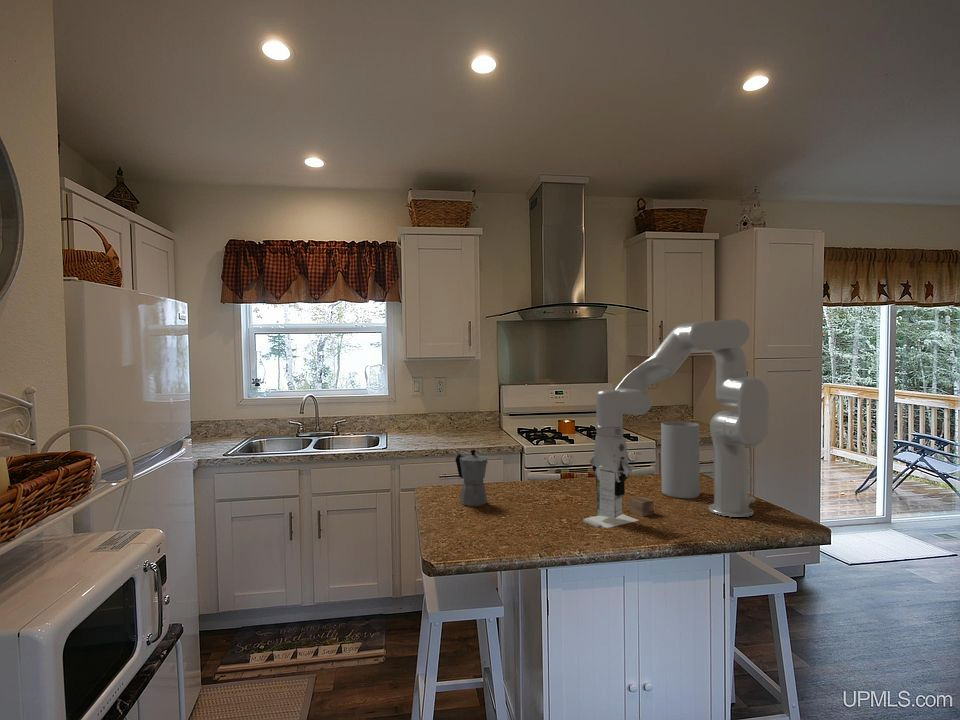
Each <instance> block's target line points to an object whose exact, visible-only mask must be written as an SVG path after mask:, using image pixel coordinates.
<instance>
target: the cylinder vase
mask: <svg viewBox="0 0 960 720" xmlns="http://www.w3.org/2000/svg"><path fill="white" fill-rule="evenodd" d="M660 427H661V428H660V433H661V434H660V436H661V437H660V442H661V445H660V446H661V449H660V450H661V451H660V452H661V454H660V455H661V457H660V458H661V459H660V460H661V462H660V463H661V493H662V494H663V495H665V496H667V497H670V498H675V499H681V498H682V499H683V500H684V499H685V500H688V499H690V498H691V499H696V498H699V496H700V494H701V492H700V491H701V487H700V486H701V485H700V482H701V481H700V480H701V479H700V477H701V476H700V468H701V467H700V424H699V423H696V422H687V421H664V422H661V423H660ZM691 499H690V500H691Z"/></svg>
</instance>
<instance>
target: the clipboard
mask: <svg viewBox="0 0 960 720" xmlns="http://www.w3.org/2000/svg"><path fill="white" fill-rule="evenodd" d="M638 521H640V519H637V518H634V517H631V516H628V515H626V514H624V513H623V514H621V515H620V516H618V517H616V518H610V517H604V516H599V515H596V516H590V517H586V518H583V520H582V522H584V523H586V524H588V525H591V526H594V527H595V528H599V527H600V528H601V527H603V528H606V529H608V528H612V527H617V526H622V525H626V524H630V523H631V524H632V523H634V522H635V523H636V522H638Z"/></svg>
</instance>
